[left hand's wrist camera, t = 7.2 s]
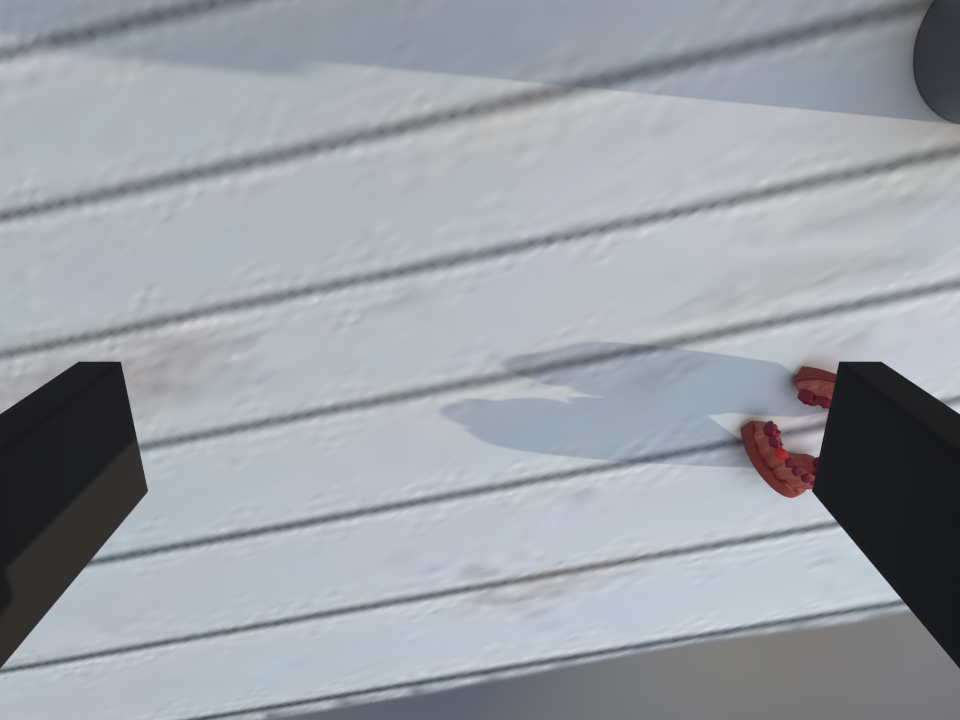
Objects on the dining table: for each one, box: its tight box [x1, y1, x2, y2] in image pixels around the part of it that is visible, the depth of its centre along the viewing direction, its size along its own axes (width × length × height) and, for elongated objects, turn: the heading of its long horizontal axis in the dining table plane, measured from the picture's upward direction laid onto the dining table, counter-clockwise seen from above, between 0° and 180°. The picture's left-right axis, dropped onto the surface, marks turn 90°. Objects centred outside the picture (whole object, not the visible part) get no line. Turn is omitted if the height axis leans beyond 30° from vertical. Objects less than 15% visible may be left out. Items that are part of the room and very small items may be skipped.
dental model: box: [741, 366, 836, 498], centre depth 42 cm, size 6×4×8 cm
